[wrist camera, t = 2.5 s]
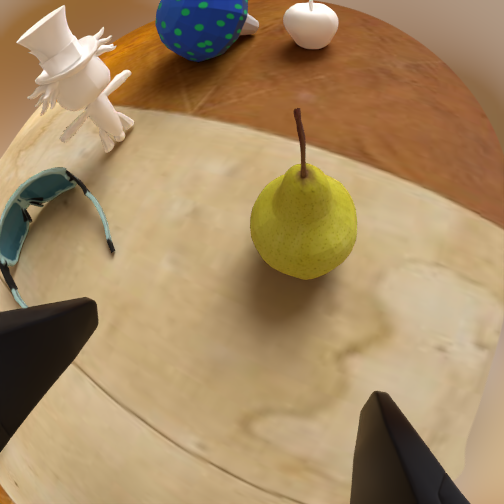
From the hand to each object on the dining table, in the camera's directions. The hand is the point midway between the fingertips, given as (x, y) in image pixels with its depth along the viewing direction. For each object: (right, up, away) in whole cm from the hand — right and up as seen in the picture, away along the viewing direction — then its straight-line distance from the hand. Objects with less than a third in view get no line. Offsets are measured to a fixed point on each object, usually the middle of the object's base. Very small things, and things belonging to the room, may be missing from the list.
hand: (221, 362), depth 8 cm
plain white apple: (+9, +31, +24) cm, 40 cm away
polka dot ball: (-4, +32, +26) cm, 42 cm away
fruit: (+5, +4, +14) cm, 15 cm away
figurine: (-14, +16, +22) cm, 31 cm away
